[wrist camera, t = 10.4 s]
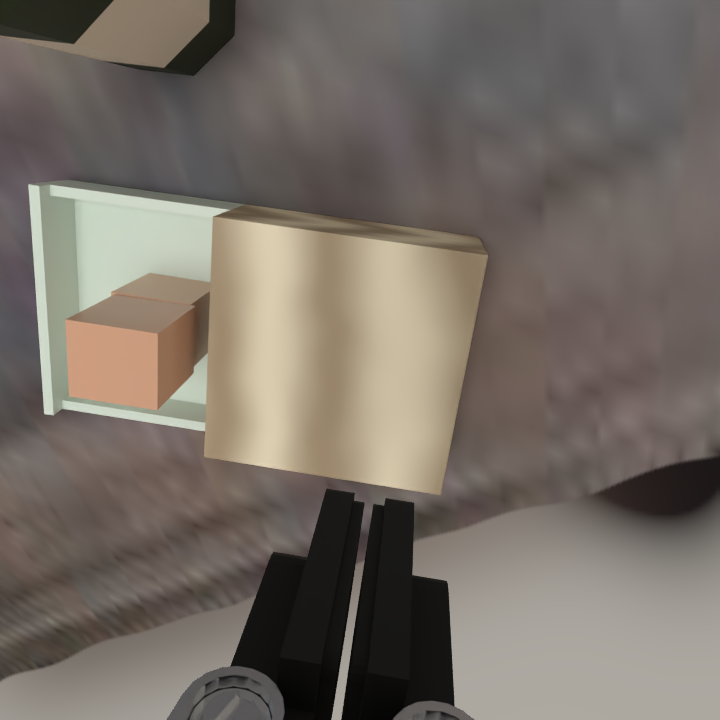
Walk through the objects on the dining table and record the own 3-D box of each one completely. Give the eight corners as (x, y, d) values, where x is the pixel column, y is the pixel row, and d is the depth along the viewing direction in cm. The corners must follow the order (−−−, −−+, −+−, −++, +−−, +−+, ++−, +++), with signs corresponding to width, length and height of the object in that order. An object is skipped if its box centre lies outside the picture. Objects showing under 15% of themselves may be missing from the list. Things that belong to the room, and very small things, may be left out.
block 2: (157, 333, 28) (65, 319, 29) (157, 410, 30) (69, 396, 30) (195, 305, 33) (115, 293, 33) (193, 373, 34) (116, 361, 35)
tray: (245, 204, 36) (224, 212, 33) (234, 413, 41) (214, 441, 38) (68, 179, 37) (28, 184, 33) (78, 389, 42) (44, 413, 38)
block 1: (190, 304, 33) (110, 291, 33) (188, 372, 34) (111, 359, 35) (219, 283, 38) (149, 272, 38) (216, 344, 39) (148, 333, 39)
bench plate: (478, 236, 36) (488, 255, 30) (438, 445, 41) (440, 495, 35) (245, 204, 36) (212, 216, 31) (234, 413, 41) (204, 456, 36)
